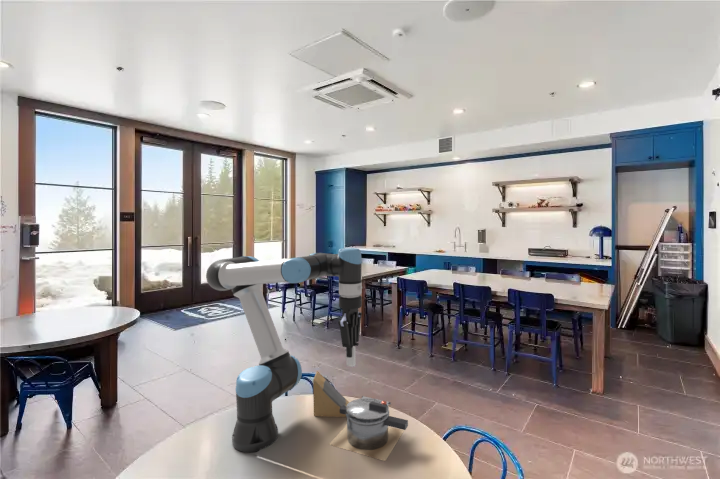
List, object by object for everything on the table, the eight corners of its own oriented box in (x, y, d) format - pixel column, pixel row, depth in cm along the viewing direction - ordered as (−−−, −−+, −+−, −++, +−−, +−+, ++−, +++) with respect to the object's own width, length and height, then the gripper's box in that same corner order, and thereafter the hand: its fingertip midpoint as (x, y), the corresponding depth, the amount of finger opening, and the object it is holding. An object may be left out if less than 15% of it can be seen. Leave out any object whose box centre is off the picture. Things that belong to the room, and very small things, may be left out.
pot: (331, 441, 123) (330, 415, 123) (352, 418, 137) (351, 395, 137) (399, 461, 113) (398, 433, 112) (414, 434, 127) (414, 408, 127)
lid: (338, 413, 122) (338, 405, 122) (358, 396, 135) (358, 389, 135) (378, 423, 115) (379, 415, 116) (395, 405, 129) (395, 397, 129)
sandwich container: (354, 418, 139) (353, 380, 138) (313, 418, 139) (313, 379, 138) (355, 407, 147) (354, 370, 146) (317, 406, 148) (316, 370, 147)
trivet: (328, 446, 122) (328, 444, 122) (353, 419, 138) (353, 417, 138) (385, 463, 113) (385, 461, 113) (404, 432, 129) (404, 430, 129)
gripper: (351, 300, 114) (352, 375, 115) (368, 292, 125) (369, 360, 127) (330, 298, 117) (331, 371, 118) (349, 290, 129) (349, 357, 130)
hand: (351, 365), depth 122 cm, fingers closed
